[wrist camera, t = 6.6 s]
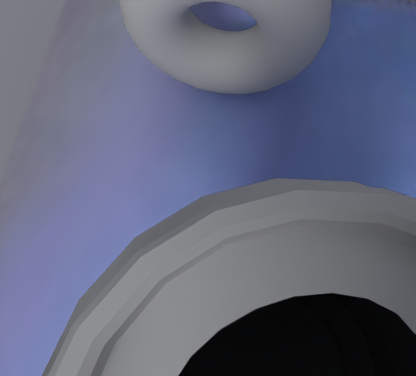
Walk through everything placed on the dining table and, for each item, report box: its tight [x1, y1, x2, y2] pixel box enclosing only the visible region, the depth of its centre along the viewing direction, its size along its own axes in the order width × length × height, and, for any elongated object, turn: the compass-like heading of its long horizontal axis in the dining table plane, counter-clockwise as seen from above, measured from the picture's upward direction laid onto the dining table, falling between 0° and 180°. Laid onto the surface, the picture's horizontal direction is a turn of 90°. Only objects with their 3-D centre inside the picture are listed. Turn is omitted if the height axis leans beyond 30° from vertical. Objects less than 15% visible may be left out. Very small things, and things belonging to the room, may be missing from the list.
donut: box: [119, 0, 332, 94], centre depth 19 cm, size 10×3×10 cm, turn 80°
